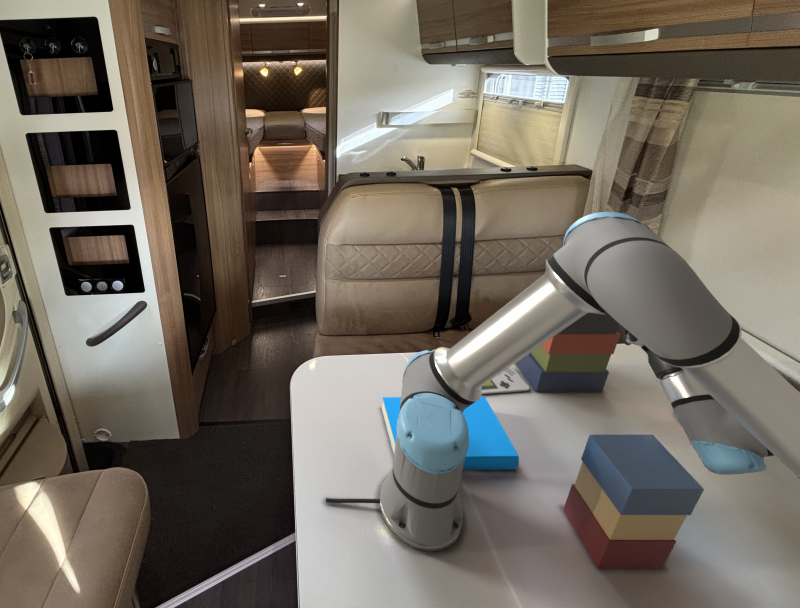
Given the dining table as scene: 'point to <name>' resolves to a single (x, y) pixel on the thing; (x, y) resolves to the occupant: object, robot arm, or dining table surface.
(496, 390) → the handheld gaming device
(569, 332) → the book stack
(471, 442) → the book
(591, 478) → the low stack
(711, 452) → the robot arm
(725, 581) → the dining table surface
